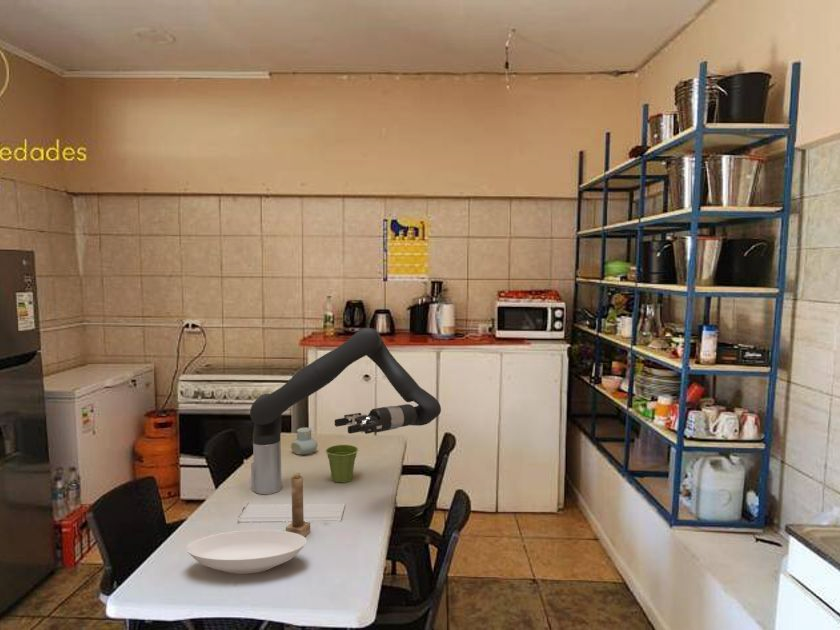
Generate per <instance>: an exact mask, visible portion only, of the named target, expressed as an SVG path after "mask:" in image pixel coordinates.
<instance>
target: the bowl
mask: <svg viewBox="0 0 840 630" xmlns="http://www.w3.org/2000/svg"><path fill="white" fill-rule="evenodd" d="M306 544H307V539H306V537H303V536H302V535H299V534H296V533H292V532H287V531H285V530H278V529H249V530H247V529H245V530H236V531H228V532H222V533H216V534H212V535H208V536H207V535H206V536H204V537H202V538H201V537H200V538H199V539H195V540H193V541H192V542H190V543H189V544H188V545H187V546H186V551H187V553H188V554H189V555H190V556H191V557H192V558H193V559H194V560H195V561H196V562H198V563H199V564H201V565H203V566H206V567H208V568H210V569H214V570H218V571H222V572H224V573H227V574H236V575H242V574H243V575H248V574H257V573H262V572H265V571H268V570H270V569H273V568H274V567H277V566H280V565H281V564H284V563H286V562H288V561H290V560H291V559H293V558H294V557H296V555H298V554H299V553H300V552H301V550H302V549H303V548H304V547H305V546H306Z"/></svg>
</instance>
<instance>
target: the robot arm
mask: <svg viewBox="0 0 840 630" xmlns="http://www.w3.org/2000/svg"><path fill="white" fill-rule="evenodd" d="M366 356H367V357H368V358H369V359H370V360H371V361H372V362H374V364H375V365H376V366H377V367H378V368H379V369H380V370H381V372H382V373H383V374H384V376H385V377H386V379H387V381H389V382H388V383H390V385H391V386H392V387H393V389H394V390H395V391H396V392H397V394H398V395H399V396H400V397H401V398H402V399H403V401H405V402H406V403H408V404H400V405H390V406H389V405H388V406H381V407H377V408H372V409H371V410H370V411H369V413H368V414H362V413H361V412H356V413H351V414H344V416H343V417H341V418H335V419H334V426H335V427H344V426H347V433H348V434H355V433H361V434H362V433H364V434H366V435H367V434H372V433H381V432H386V431H393V430H396V429H398V428H403V427H408V426H418V427H419V426H425V425H428V424H430V423H431V422H433V421H434V420H435V419H436V418H437V417H439V416H440V414H441V412H442V407H441V404H440V402H439V401H438V399H436V397H435V396H433V395H432V394H430V393H429V392H428V391H426V390H425V389H424V388H422V387H421V386H420V385H419V383H417V382H416V380H415V379H414V378H413V377H412V375H410V374H409V372H407V370H406V369H405V368H404V367H403V365H401V363H399V362H398V360H397V359H396V358H395V357H394V356H393V355H392V353H391V352H390V350H389V349H388V347H387V346H386V344H385V342H384V341H383V339H382V336H381V334H380V333H379V332H378V330H376V329H374V328H371V327H363V328H360V329H358V330H357V331H356V332H355V333H354V334H352V335H351V336H350V337H349V338H348V339H347V340H345V341H344V342H343V343H341V345H339V346H337V347H336V348H335V349H332V350H330V351H329V352H327V353H326V354H323V355H322V356H320V357H318V358H317V359H315V360H314V361H312V362H311V363H309V364H307V365H306V366H305V367H303V368H302V369H301V370H299V371H298V372H297V373H295V374H294V375H293V376H292V377H291V378H290V379H289V380H288V381H287V382H285V384H283V385H282V386H281V387H280V388H278V389H277V390H274V391H273V392H271V393H264V394H261V395H260V396H258V397H257V398H256V399H255V400H254V402H253V403H252V404H251V407H250V409H249V416H250V419H251V421H253V422H254V426H253V427H254V428H253V434H252V448H253V453H252V455H253V460H252V461H253V462H252V463H251V464H250V469H251V471H250V472H251V491H254V493H256V494H260V495H271V494H275V493H277V492H280V491H281V490H282V488H283V487H282V447H281V445H282V444H281V443H282V441H281V434H282V414H283V413H285V412H286V411H287V410H288V409H290V408H291V407H292V406H294V405H295V404H297V403H299V402H300V401H303V400H304V399H306V398H308V397H310V396H311V395H313V394H315V393H317V392H318V391H320V390H321V389H322V388H324V387H326V386H327V385H329V384H330V383H331V382H333V381H334V380H335V379H336V378H337V377H338V376H340V375H341V373H342V372H344V370H345V369H347V368H348V367H349V366H350V365H352V364H353V363H355V362H357V361H358V360H360V359H362V358H364V357H366ZM411 402H413V403H415V404H417V405H416V406H413V405H412V404H409V403H411Z"/></svg>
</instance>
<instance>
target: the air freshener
mask: <svg viewBox="0 0 840 630" xmlns="http://www.w3.org/2000/svg"><path fill="white" fill-rule="evenodd" d="M318 446H319V445H318V442H317V441H316V439H314V438H312V429H311V427H300V428H298V429H297V430H296V439H294V440H293V441H292V442H291V445H290V448H291V450H292V451H293V453H294V454H297V455H298V456H304V455H305V456H306V455H309V454H310V455H311V454H312V453H314V452H315V451H316V450H317V448H318Z"/></svg>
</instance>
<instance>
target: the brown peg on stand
mask: <svg viewBox="0 0 840 630" xmlns="http://www.w3.org/2000/svg"><path fill="white" fill-rule="evenodd" d="M303 479H304V477H303V476H302V475H301V472H294V473H293V475H292V477H291V482H290V483H291V504H292V522H290V523H289V524H288V525H287V526H285V530H286V531H287V532H292V533H296V534H299V535H302V536H303V537H305V536H306V537H307V536H308V535H309V534H310V533H311V522H305V521H304V516H303V504H304V480H303ZM306 537H305V538H306Z"/></svg>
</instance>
